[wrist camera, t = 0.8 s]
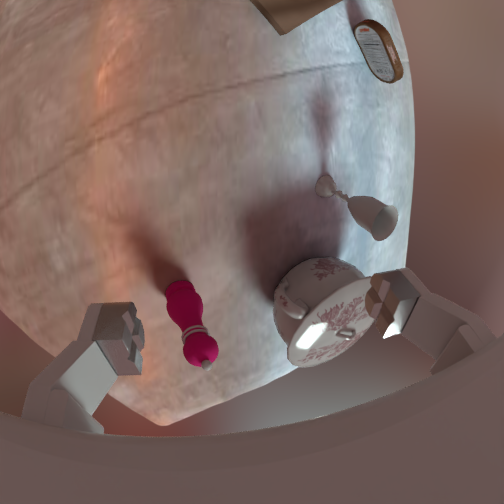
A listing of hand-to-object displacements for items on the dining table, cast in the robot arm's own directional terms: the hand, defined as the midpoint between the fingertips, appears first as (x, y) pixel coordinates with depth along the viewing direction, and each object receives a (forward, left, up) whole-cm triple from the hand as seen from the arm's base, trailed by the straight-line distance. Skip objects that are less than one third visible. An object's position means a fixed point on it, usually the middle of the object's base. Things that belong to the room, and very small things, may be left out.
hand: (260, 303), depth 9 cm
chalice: (+32, +17, -39) cm, 53 cm away
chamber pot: (+50, -2, -39) cm, 64 cm away
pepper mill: (+24, -20, -39) cm, 50 cm away
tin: (+14, +44, -39) cm, 60 cm away
